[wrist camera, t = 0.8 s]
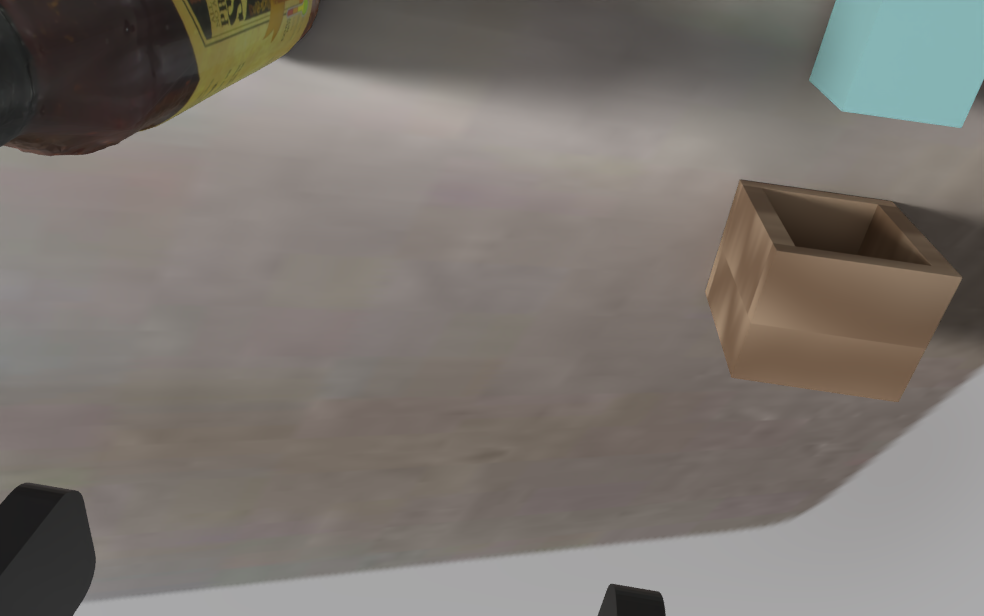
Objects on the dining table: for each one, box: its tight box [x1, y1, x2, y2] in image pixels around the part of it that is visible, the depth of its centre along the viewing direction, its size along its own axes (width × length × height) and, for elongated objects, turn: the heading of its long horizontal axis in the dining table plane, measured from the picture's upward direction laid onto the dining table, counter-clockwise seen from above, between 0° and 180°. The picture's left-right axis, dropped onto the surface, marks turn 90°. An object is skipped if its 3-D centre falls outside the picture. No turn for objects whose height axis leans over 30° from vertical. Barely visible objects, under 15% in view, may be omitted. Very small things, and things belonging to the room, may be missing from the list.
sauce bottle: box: [0, 0, 320, 156], centre depth 20 cm, size 6×6×20 cm
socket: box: [705, 180, 963, 402], centre depth 30 cm, size 6×6×7 cm
